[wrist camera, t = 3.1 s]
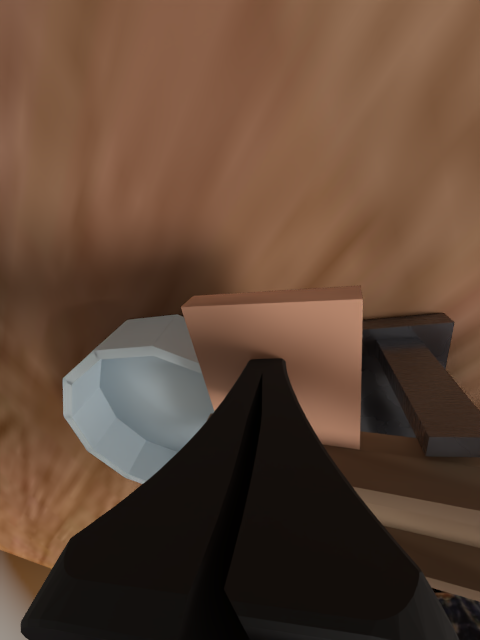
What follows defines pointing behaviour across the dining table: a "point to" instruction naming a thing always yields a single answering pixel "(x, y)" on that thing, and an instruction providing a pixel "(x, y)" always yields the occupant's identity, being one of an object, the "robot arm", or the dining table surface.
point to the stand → (416, 386)
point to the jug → (462, 615)
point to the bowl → (138, 396)
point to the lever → (347, 419)
